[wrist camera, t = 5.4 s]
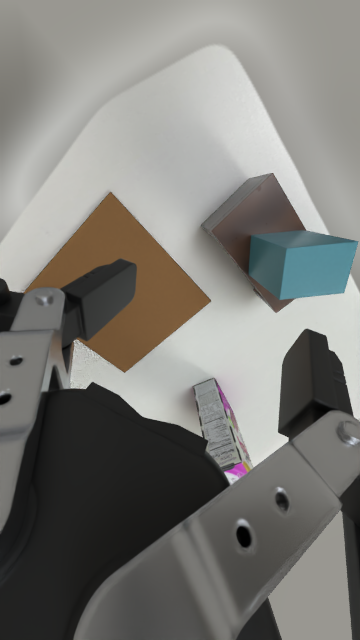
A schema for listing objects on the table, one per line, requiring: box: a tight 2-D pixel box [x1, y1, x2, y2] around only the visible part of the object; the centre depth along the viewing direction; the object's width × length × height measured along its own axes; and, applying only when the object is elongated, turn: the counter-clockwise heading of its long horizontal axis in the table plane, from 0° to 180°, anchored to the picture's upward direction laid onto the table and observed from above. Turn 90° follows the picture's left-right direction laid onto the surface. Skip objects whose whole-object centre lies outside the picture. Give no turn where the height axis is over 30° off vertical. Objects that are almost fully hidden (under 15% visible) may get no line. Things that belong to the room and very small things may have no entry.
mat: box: [24, 192, 211, 373], centre depth 34 cm, size 20×20×1 cm
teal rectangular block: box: [249, 230, 358, 300], centre depth 23 cm, size 4×6×8 cm
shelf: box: [201, 173, 306, 313], centre depth 29 cm, size 14×8×7 cm, turn 42°
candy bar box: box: [193, 378, 253, 485], centre depth 39 cm, size 11×5×16 cm, turn 26°
